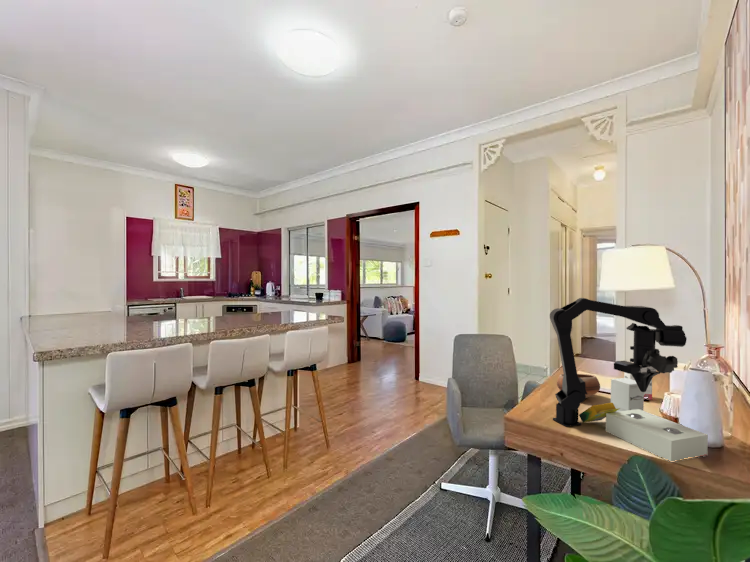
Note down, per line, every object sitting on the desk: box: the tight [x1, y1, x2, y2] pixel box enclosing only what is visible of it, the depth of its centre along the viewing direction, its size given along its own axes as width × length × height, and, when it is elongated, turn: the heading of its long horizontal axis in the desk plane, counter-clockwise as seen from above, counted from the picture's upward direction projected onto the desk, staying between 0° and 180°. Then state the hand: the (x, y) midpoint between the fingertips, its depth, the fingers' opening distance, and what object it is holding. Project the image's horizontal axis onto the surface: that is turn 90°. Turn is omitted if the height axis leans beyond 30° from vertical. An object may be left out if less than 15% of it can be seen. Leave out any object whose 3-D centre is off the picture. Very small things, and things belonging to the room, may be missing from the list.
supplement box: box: [610, 377, 645, 412], centre depth 130 cm, size 7×7×13 cm
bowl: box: [556, 373, 601, 398], centre depth 149 cm, size 16×16×10 cm
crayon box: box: [578, 402, 620, 424], centre depth 120 cm, size 7×3×12 cm
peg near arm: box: [630, 413, 642, 419], centre depth 114 cm, size 3×3×6 cm
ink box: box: [623, 372, 653, 401], centre depth 149 cm, size 9×5×12 cm, turn 84°
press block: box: [605, 409, 709, 461], centre depth 109 cm, size 14×20×6 cm
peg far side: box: [666, 427, 679, 434], centre depth 103 cm, size 3×3×6 cm
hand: (643, 391), depth 117 cm, fingers closed
